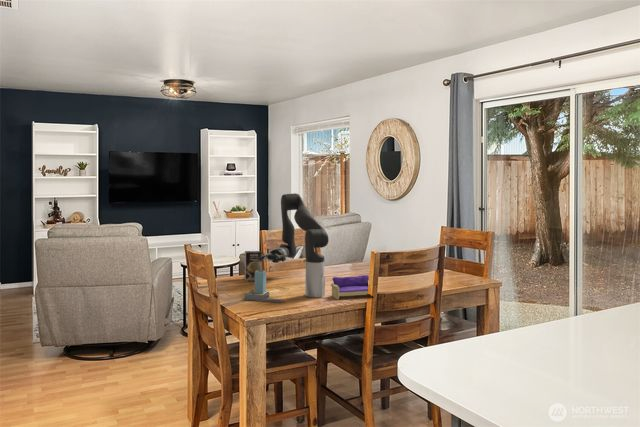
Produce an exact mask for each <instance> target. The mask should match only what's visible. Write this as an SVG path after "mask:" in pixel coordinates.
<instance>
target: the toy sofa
mask: <svg viewBox="0 0 640 427" xmlns="http://www.w3.org/2000/svg"><path fill="white" fill-rule="evenodd" d="M369 278H370V276H369V275H368V274H366V273H365V274H361V275H356V276H343V277H342V276H341V277H340V276H335V275H334V276H332V282H331V283H330V287H331V297H332V298H334V297H335V298H334V299H336V300H337V299H340V297H349V296H367V293H368V282H370V281H369V280H370V279H369Z"/></svg>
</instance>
